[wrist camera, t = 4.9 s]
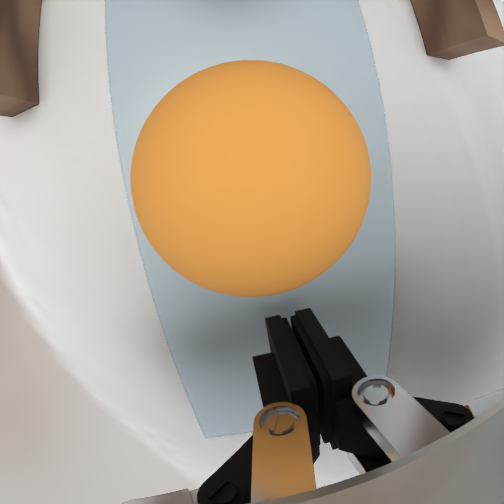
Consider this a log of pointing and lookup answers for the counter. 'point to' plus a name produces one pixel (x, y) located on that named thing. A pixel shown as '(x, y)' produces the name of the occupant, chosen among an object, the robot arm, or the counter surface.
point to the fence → (424, 3)
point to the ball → (250, 178)
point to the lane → (307, 296)
